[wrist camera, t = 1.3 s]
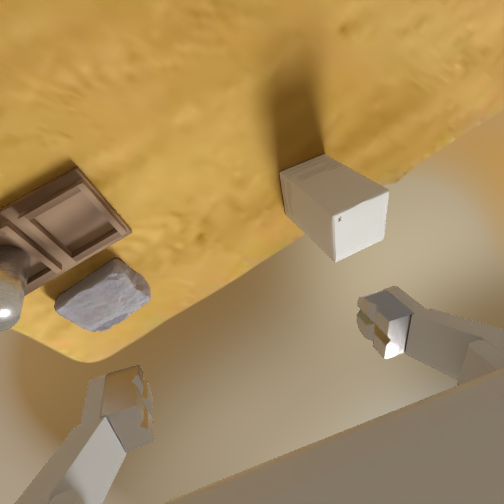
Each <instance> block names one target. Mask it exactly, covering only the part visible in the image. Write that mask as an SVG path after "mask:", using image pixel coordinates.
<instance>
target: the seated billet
mask: <svg viewBox="0 0 504 504" xmlns="http://www.w3.org/2000/svg"><path fill="white" fill-rule="evenodd" d="M30 265H31V259H30V256H29V255H28V254H27V252H25V251H24V250H23V249H21V248H19V247H16V246H12V245H0V331H4V330H6V329H9V328H11V327H12V326H14V325H15V324H16V323H17V322H18V320H19V318H20V314H21V309H22V304H23V299H24V295H25V290H26V285H27V280H28V275H29V270H30Z"/></svg>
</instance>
